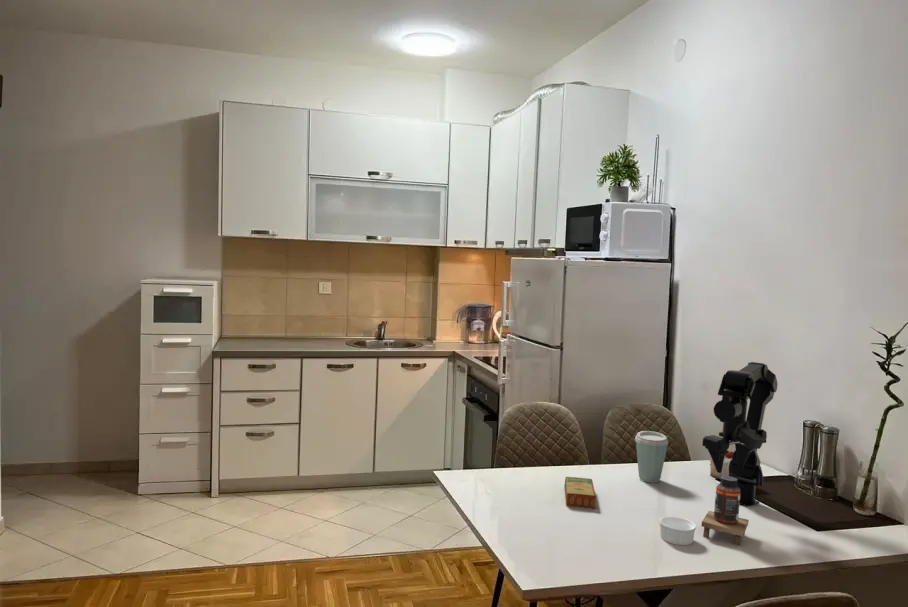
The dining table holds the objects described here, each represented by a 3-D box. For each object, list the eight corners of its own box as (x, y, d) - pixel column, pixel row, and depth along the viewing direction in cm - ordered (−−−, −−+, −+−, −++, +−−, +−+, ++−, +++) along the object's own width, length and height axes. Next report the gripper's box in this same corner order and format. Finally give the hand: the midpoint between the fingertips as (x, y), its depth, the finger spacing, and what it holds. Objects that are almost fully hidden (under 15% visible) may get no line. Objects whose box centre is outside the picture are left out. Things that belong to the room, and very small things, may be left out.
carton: (565, 507, 193) (566, 492, 192) (563, 488, 209) (564, 475, 208) (595, 510, 192) (596, 495, 191) (591, 491, 208) (592, 477, 207)
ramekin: (690, 549, 168) (691, 532, 167) (654, 540, 172) (655, 523, 172) (698, 538, 175) (699, 522, 175) (663, 529, 180) (664, 513, 180)
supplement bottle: (743, 523, 176) (747, 481, 175) (725, 526, 174) (729, 482, 173) (725, 515, 182) (729, 473, 181) (708, 517, 179) (712, 475, 179)
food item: (704, 474, 232) (707, 446, 231) (723, 473, 234) (726, 445, 234) (733, 488, 219) (736, 458, 218) (753, 487, 221) (756, 457, 221)
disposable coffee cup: (669, 486, 216) (673, 439, 215) (635, 484, 216) (639, 437, 215) (660, 475, 227) (663, 431, 226) (627, 473, 227) (631, 429, 226)
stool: (707, 525, 185) (708, 510, 184) (747, 534, 180) (748, 519, 179) (700, 536, 176) (701, 521, 176) (741, 547, 171) (743, 531, 171)
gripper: (738, 425, 179) (732, 483, 180) (781, 420, 189) (776, 476, 190) (703, 415, 189) (698, 471, 190) (746, 411, 198) (741, 464, 199)
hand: (729, 470), depth 192 cm, fingers open, 9 cm apart
